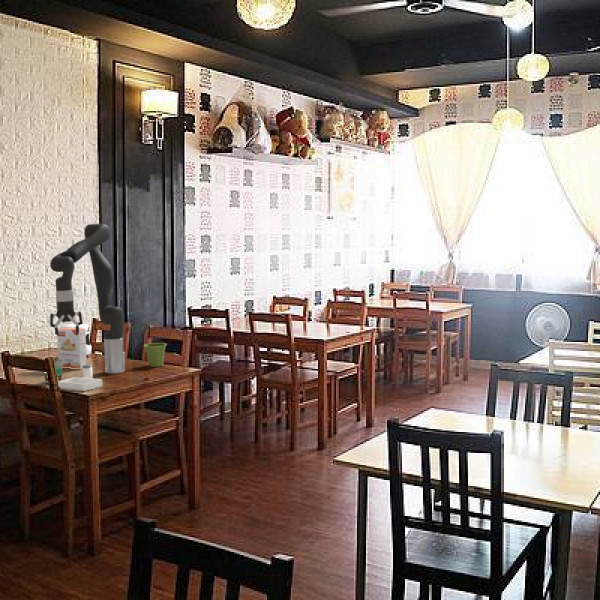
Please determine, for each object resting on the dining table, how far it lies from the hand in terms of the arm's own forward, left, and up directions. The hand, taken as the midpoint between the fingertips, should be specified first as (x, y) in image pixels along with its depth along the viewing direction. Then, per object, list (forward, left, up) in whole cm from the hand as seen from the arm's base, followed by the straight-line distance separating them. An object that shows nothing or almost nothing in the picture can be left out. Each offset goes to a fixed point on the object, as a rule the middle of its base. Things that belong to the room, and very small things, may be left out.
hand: (67, 334), depth 358 cm
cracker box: (-35, -31, -24) cm, 53 cm away
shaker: (-10, +2, -24) cm, 26 cm away
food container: (-4, -12, -24) cm, 27 cm away
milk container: (-62, -54, -24) cm, 86 cm away
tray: (+2, +8, -24) cm, 25 cm away
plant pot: (-57, +6, -24) cm, 62 cm away
